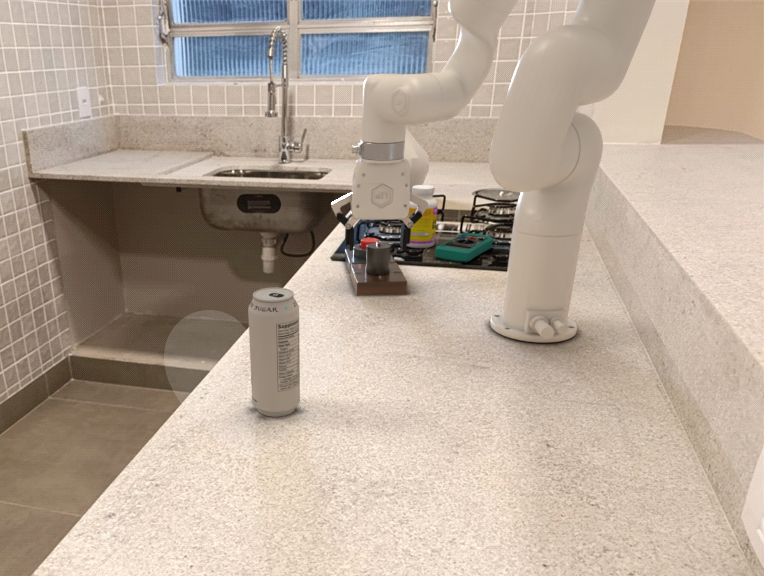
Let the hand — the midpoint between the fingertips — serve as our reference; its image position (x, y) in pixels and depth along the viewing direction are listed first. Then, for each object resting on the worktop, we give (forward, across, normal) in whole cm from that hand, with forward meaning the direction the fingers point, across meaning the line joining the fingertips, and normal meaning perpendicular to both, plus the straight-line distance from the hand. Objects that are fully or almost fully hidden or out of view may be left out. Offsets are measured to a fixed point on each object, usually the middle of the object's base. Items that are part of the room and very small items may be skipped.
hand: (376, 248), depth 128 cm
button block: (+7, 0, +12) cm, 14 cm away
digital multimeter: (+7, +21, +20) cm, 30 cm away
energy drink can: (+7, -19, -49) cm, 53 cm away
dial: (+4, 0, 0) cm, 4 cm away
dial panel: (+7, 0, 0) cm, 7 cm away
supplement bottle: (+7, +13, +28) cm, 31 cm away
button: (+4, 0, +13) cm, 13 cm away
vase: (+8, +17, +84) cm, 86 cm away
